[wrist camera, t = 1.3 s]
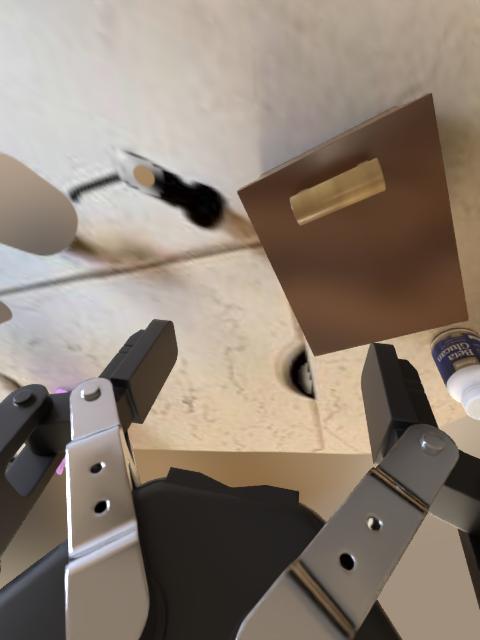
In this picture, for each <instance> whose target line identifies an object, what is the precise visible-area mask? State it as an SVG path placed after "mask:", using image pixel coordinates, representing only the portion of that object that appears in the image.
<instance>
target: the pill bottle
mask: <svg viewBox="0 0 480 640" xmlns="http://www.w3.org/2000/svg"><path fill="white" fill-rule="evenodd" d="M431 354H432V357H433V359H434V361H435V363H436V366H437V368H438V370H439V372H440V374H441V377H442V379H443V381H444V384H445V385H446V388H447V390H448V392H449V394H450V395H451V397H452V398H453V399H455V400H456V401H458V402H459V403H462V405H463V407H464V409H465V411H466V413H467V414H468V415H469V416H470V417H472V418H474V419H477V420H480V337H479V336H478V335H477V334H476V333H475V332H473V331H470V330H466V329H453V330H449V331H446V332H444V333H442V334H440V335H439V336H438V337H436V338H435V340H434V341H433V342H432V344H431Z"/></svg>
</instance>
